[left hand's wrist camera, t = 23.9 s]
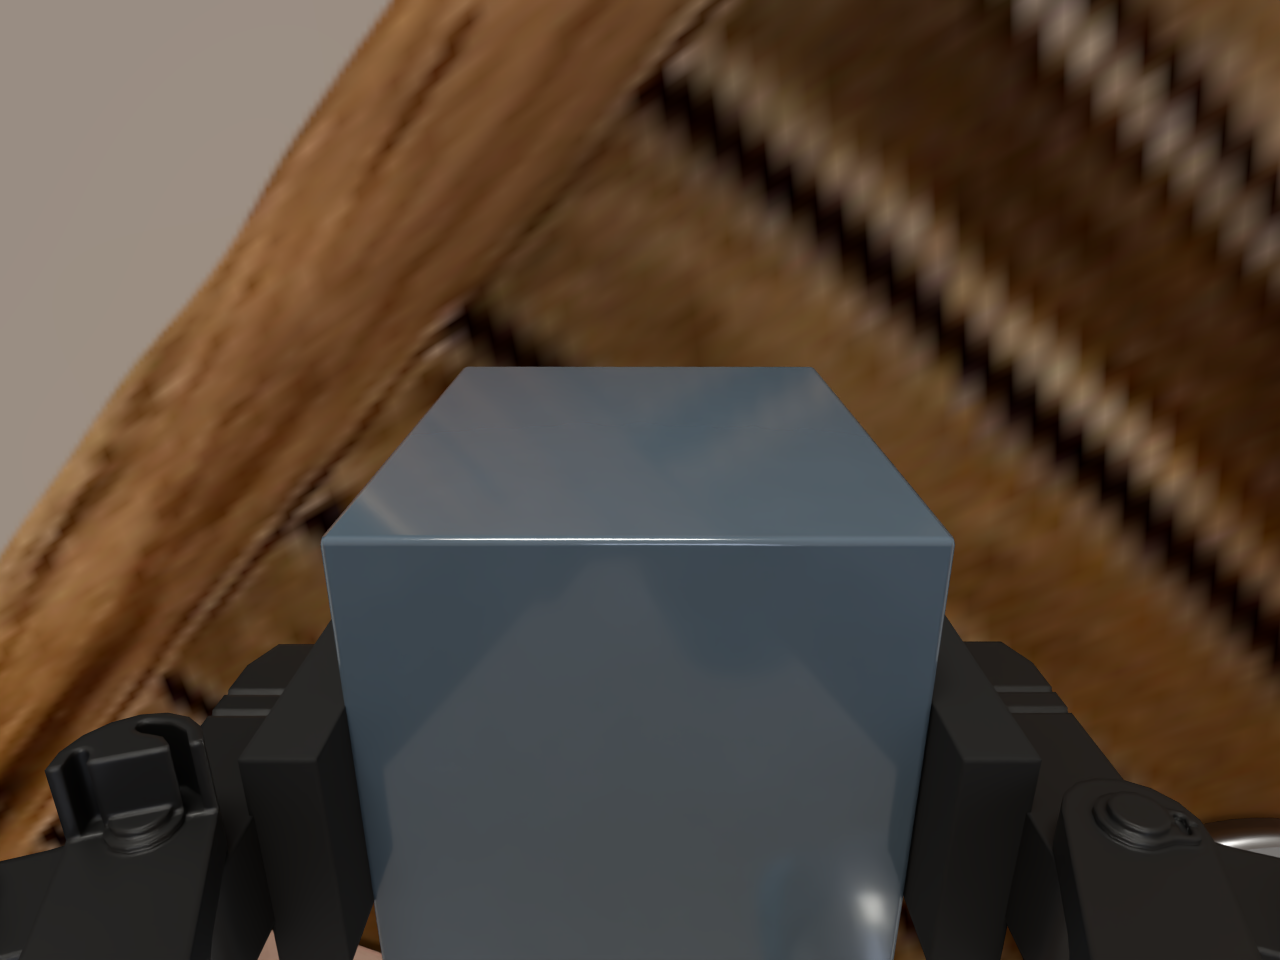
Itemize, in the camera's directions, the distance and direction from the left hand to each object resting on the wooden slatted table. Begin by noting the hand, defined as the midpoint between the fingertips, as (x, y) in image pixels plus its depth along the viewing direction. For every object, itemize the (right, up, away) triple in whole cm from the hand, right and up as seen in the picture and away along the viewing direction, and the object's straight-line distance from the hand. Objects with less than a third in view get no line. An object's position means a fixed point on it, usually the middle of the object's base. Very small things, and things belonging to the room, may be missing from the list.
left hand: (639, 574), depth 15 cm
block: (0, +1, +1) cm, 2 cm away
